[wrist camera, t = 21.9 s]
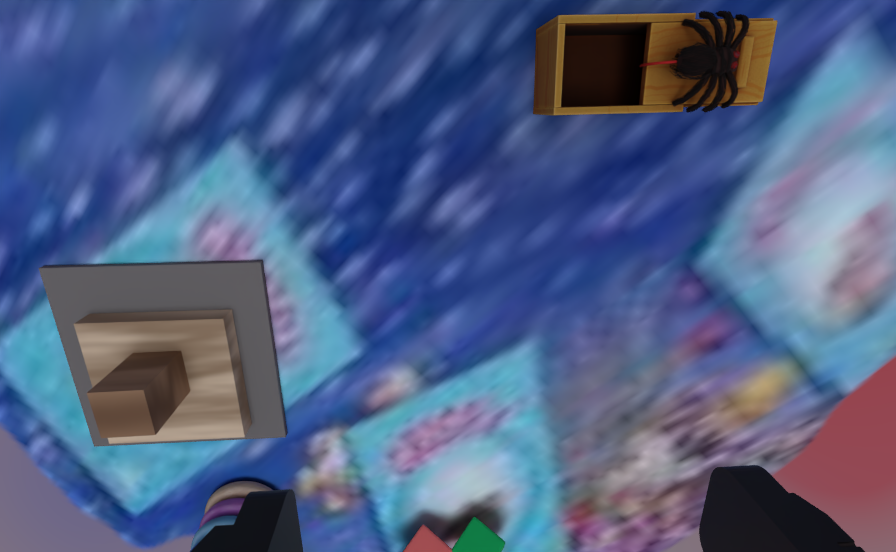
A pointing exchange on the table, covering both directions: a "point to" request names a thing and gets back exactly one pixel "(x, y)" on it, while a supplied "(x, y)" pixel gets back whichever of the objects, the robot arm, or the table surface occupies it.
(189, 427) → the tile
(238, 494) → the stacking toy
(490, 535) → the building blocks
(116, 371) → the block
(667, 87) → the spider toy trap
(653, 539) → the table surface
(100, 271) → the mat
